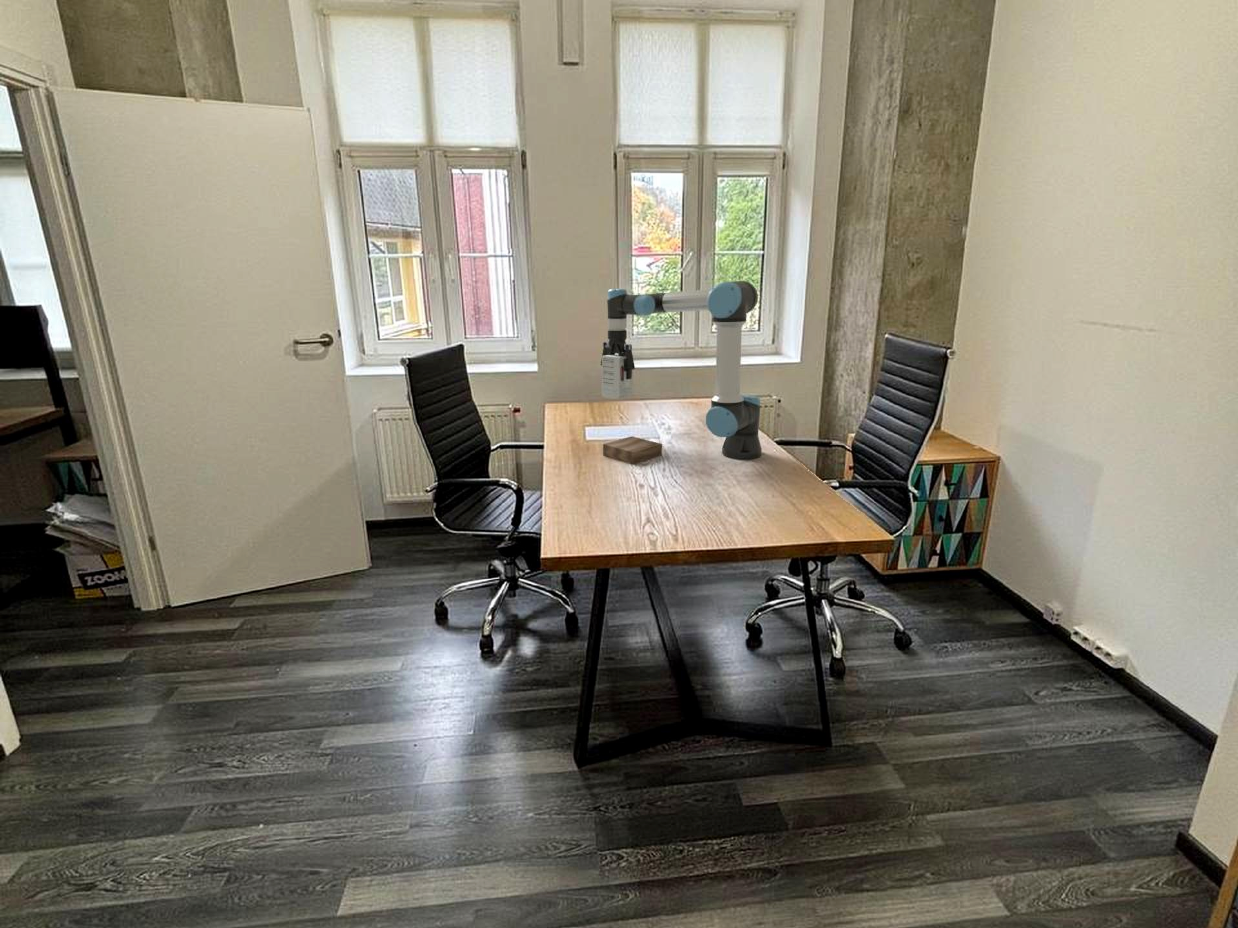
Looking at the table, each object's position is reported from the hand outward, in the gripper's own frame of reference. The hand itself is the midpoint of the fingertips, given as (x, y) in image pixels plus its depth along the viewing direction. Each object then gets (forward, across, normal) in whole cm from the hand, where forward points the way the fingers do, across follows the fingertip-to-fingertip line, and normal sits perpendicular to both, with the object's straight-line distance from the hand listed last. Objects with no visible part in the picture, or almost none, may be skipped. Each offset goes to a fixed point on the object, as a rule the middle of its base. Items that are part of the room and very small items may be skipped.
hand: (617, 385), depth 261 cm
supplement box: (+5, 0, 0) cm, 5 cm away
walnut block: (+24, -19, +11) cm, 32 cm away
